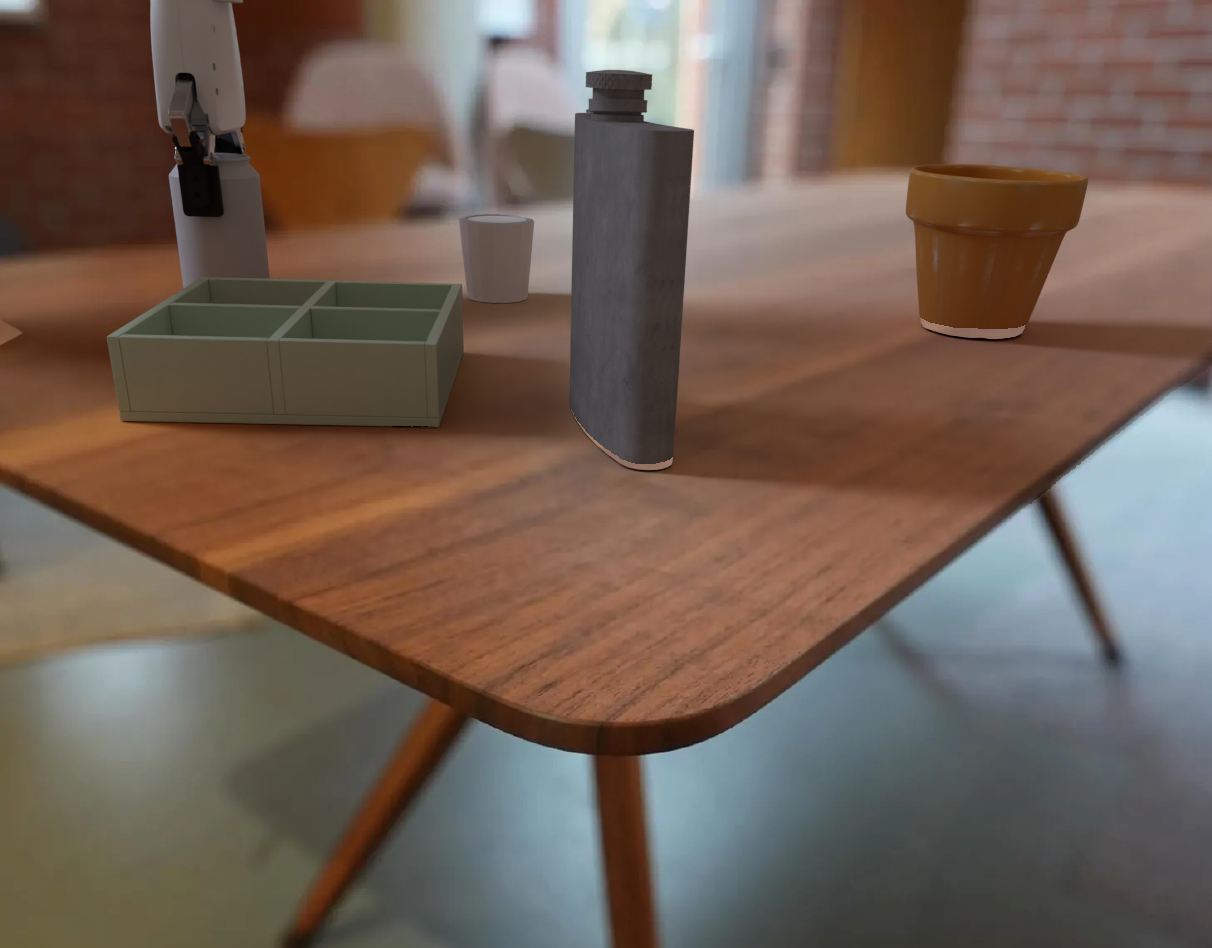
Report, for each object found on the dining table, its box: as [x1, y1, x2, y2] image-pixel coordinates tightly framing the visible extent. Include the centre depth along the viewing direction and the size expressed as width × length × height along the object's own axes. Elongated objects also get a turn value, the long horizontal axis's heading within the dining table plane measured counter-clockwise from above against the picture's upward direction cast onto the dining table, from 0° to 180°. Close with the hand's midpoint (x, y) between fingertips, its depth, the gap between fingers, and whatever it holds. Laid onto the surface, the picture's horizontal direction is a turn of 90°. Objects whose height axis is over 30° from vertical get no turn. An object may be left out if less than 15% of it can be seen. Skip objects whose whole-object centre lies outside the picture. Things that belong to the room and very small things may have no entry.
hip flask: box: [568, 69, 695, 464], centre depth 64 cm, size 16×4×20 cm, turn 14°
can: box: [168, 153, 271, 289], centre depth 98 cm, size 8×8×12 cm
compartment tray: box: [106, 277, 465, 428], centre depth 75 cm, size 19×19×5 cm
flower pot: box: [905, 163, 1089, 329], centre depth 95 cm, size 14×14×13 cm
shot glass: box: [458, 213, 535, 304], centre depth 103 cm, size 7×7×7 cm
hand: (218, 208), depth 97 cm, fingers open, 8 cm apart
